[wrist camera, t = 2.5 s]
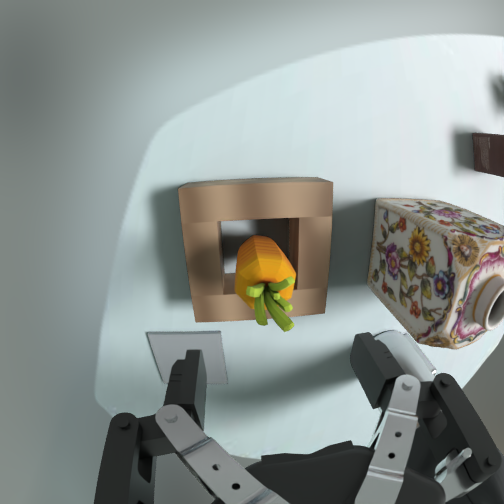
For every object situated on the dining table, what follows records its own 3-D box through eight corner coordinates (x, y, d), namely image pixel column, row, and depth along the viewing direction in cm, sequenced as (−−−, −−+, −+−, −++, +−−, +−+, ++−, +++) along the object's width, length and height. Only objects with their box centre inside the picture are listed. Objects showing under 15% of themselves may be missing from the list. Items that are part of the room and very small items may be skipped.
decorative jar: (363, 285, 33) (439, 378, 17) (372, 196, 29) (485, 248, 13) (429, 276, 34) (507, 344, 17) (441, 199, 30) (542, 242, 13)
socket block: (317, 177, 28) (333, 182, 24) (313, 291, 33) (324, 313, 28) (187, 182, 28) (178, 188, 23) (200, 299, 33) (195, 322, 28)
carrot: (227, 226, 30) (221, 295, 16) (271, 214, 29) (304, 271, 15) (240, 266, 31) (245, 355, 17) (282, 255, 31) (317, 335, 17)
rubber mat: (220, 330, 34) (220, 333, 34) (227, 381, 38) (227, 383, 37) (148, 331, 34) (147, 334, 33) (164, 380, 37) (164, 383, 37)
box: (473, 170, 28) (507, 179, 22) (471, 132, 26) (506, 134, 19) (492, 171, 29) (524, 179, 22) (491, 135, 26) (523, 139, 20)
